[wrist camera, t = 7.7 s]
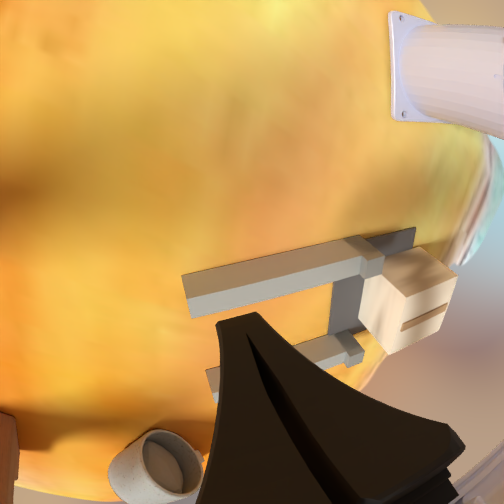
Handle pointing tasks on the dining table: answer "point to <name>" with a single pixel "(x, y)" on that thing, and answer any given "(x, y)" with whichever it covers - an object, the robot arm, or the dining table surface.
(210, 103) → the dining table surface
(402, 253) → the block
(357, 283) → the mat
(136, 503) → the ceramic mug
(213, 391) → the chute
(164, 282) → the dining table surface
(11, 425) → the wooden block
